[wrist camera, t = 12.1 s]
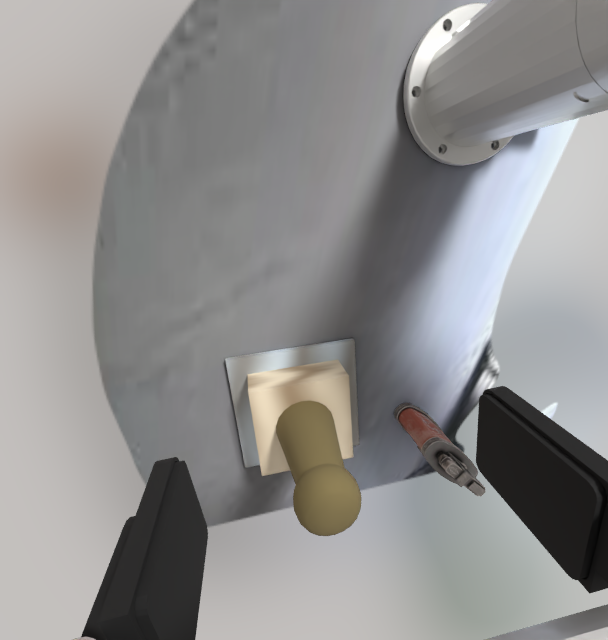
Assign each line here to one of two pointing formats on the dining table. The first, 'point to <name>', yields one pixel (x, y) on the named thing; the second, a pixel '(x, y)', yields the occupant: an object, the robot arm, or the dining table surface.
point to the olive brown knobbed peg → (317, 469)
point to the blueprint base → (284, 361)
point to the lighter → (438, 448)
